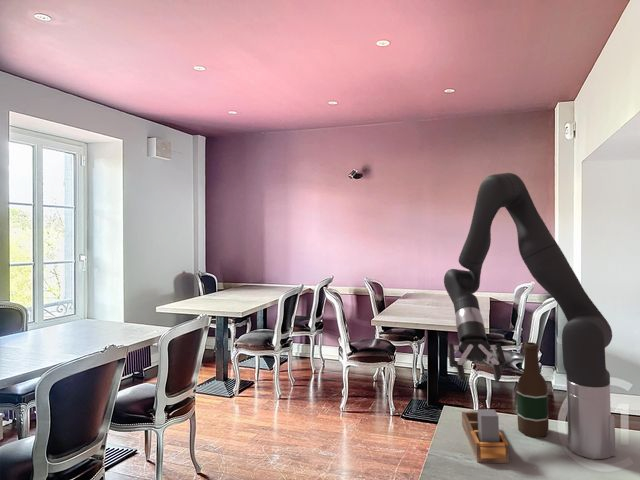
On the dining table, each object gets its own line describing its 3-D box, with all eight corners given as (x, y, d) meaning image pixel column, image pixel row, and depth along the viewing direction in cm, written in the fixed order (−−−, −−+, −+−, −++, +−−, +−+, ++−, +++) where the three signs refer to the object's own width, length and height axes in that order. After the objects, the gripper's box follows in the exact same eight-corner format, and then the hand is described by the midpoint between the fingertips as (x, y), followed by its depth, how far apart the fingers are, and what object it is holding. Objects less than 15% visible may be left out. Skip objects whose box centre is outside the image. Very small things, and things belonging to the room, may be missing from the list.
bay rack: (488, 426, 129) (488, 410, 129) (509, 464, 109) (508, 445, 108) (462, 425, 130) (461, 409, 130) (477, 463, 109) (477, 444, 109)
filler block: (495, 447, 115) (494, 409, 115) (499, 455, 111) (498, 416, 111) (478, 446, 115) (477, 409, 115) (482, 454, 111) (481, 416, 111)
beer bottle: (553, 439, 120) (550, 347, 119) (521, 437, 122) (518, 347, 121) (544, 426, 128) (542, 340, 127) (514, 424, 129) (512, 339, 128)
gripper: (445, 320, 129) (453, 373, 118) (498, 319, 128) (511, 373, 117) (443, 334, 135) (451, 387, 124) (494, 333, 133) (506, 387, 122)
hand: (480, 380), depth 120 cm, fingers open, 8 cm apart
